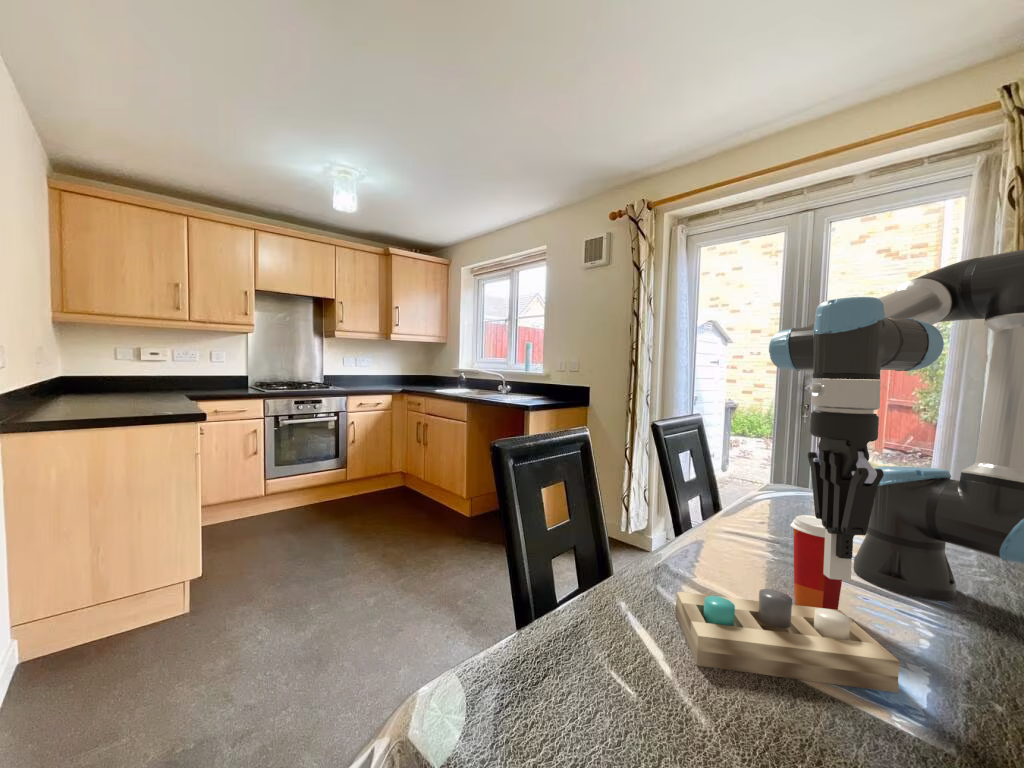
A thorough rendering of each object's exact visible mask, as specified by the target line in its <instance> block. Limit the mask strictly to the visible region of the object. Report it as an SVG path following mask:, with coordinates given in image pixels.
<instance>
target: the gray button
mask: <svg viewBox="0 0 1024 768" xmlns="http://www.w3.org/2000/svg"><path fill="white" fill-rule="evenodd" d="M758 592H759V593H758V595H759V596H758V601H759V608H758V617H759V619H760V620H762V621H763V622H764V623H766V624H768V625H771V626H774V627H778V628H789V627H790V626H791V612H792V605H793V598H792V597H791V596H790V595H788V594H786V593H784V592H781V591H780V590H775V589H772V588H771V589H770V588H762V589H759V591H758Z"/></svg>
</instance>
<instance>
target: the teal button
mask: <svg viewBox="0 0 1024 768" xmlns="http://www.w3.org/2000/svg"><path fill="white" fill-rule="evenodd" d="M718 596H719V595H718ZM718 596H716V595H710V596H707V597H705V599H704V616H703V618H704V620H705V622H706V623H710V624H719V625H727V626H734V614H735V605H734V604H733V603H732V602H731V601H729V600H727V599H725V598H722V597H723V596H719V597H718Z"/></svg>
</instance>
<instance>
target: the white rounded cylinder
mask: <svg viewBox="0 0 1024 768" xmlns="http://www.w3.org/2000/svg"><path fill="white" fill-rule="evenodd" d="M845 615H846V614H845ZM845 615H843V614H841V613H839V612H836V611H833V610H830V609H825V608H817V609H815V614H814V629H815V630H816V631H817V632H818V633H819V634H820V635H821V636H822V637H825V638H834V639H842V640H849V634H850V620H849V618H850V617H849V616H847V615H846V616H847V617H846V616H845ZM848 617H849V618H848Z"/></svg>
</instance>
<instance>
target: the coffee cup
mask: <svg viewBox="0 0 1024 768" xmlns="http://www.w3.org/2000/svg"><path fill="white" fill-rule="evenodd" d="M790 527H791V528H793V531H792V534H793V537H792V538H793V585H794V586H793V593H794V594H793V595H794V605H799V606H808V607H817V608H825V609H834V610H839V604H840V598H841V590H842V583H843V580H837V579H829V578H828V577H827V576H825V575H824V574H823V571H824V546H825V527H823V525H822V520H821V519H817V518H816V516H815V515H808V514H807V515H806V514H805V515H803V514H801V515H797V516H795V517H794V519H792V522H791V524H790Z"/></svg>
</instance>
